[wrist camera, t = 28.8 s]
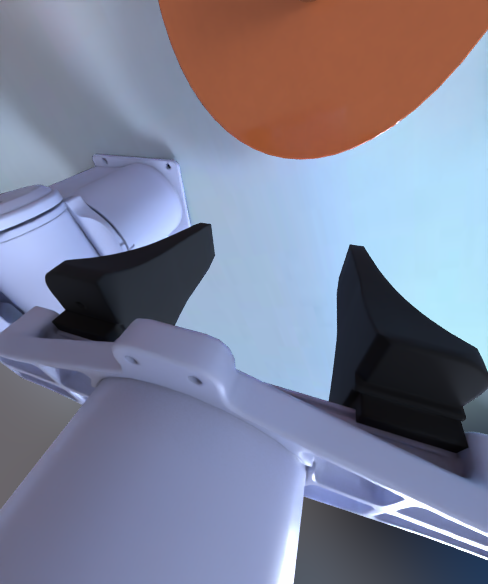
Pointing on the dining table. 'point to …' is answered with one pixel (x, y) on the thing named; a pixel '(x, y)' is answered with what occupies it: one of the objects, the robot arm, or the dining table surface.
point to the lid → (318, 65)
